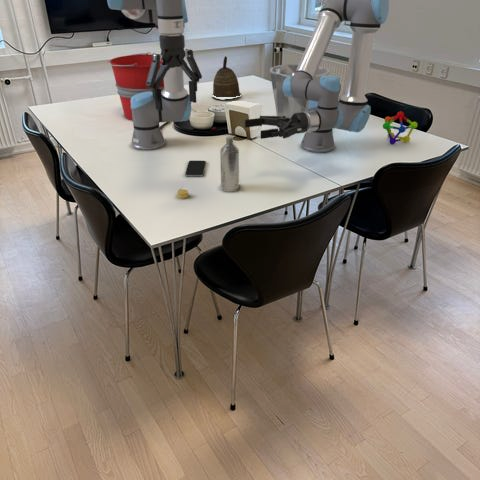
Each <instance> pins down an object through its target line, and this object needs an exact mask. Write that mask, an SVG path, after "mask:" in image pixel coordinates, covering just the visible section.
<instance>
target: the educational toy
mask: <svg viewBox="0 0 480 480" xmlns="http://www.w3.org/2000/svg"><path fill="white" fill-rule="evenodd" d="M397 119H399V124H400V125H399V127H398V126H393V125H391V124H392V123H394V122H395V121H396V120H397ZM403 120H404V121H405V122H407V123H408V124H409V125H407V126H404V123H403ZM417 127H418V122H417V121H411V120H410V119H409V118H408V117H406V116H405V113H404V112H403V111H401V110H400V111H398V112H397V114H396V115H394V116H391V117H390V116H386V117H385V118H384V122H383V123H382V129H383V130H386V132H387V138H388V142H389V145H395V144H396V143H397V142H402V141H403V142H404V143H409V142H410V140H411V138H410V136H411V134H412V132H413V131H414V130H415V129H417ZM392 129H393V130H397V131H398V132H396V134H395V133H394V132H392ZM408 129H409V131H408V133H407V134H406V135H404V136H401V134H403V133H405V132H406V130H408ZM399 135H400V136H399Z"/></svg>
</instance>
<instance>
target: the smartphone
mask: <svg viewBox="0 0 480 480" xmlns="http://www.w3.org/2000/svg"><path fill="white" fill-rule="evenodd" d="M206 163H207V161H206V160H189V161H188V163H187V166H186V170H185V174H184V175H185V177H203V176H204V174H205V169H206Z"/></svg>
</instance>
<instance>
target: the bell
mask: <svg viewBox="0 0 480 480" xmlns="http://www.w3.org/2000/svg"><path fill="white" fill-rule="evenodd" d="M227 63H228V57H227V56H224V58H223V63H222V67H221V68H219V69H218V70H217V71H216V73H215V75H214V78H213V81H212V83H213V84H212V95H214V96H216V97H236V96H240V95H241V96H242V93H241V92H240V83H239V80H238V79H239V78H238V77H237V75H236V73H235V72H234V70H232V69H231V68H230V67H227Z"/></svg>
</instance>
